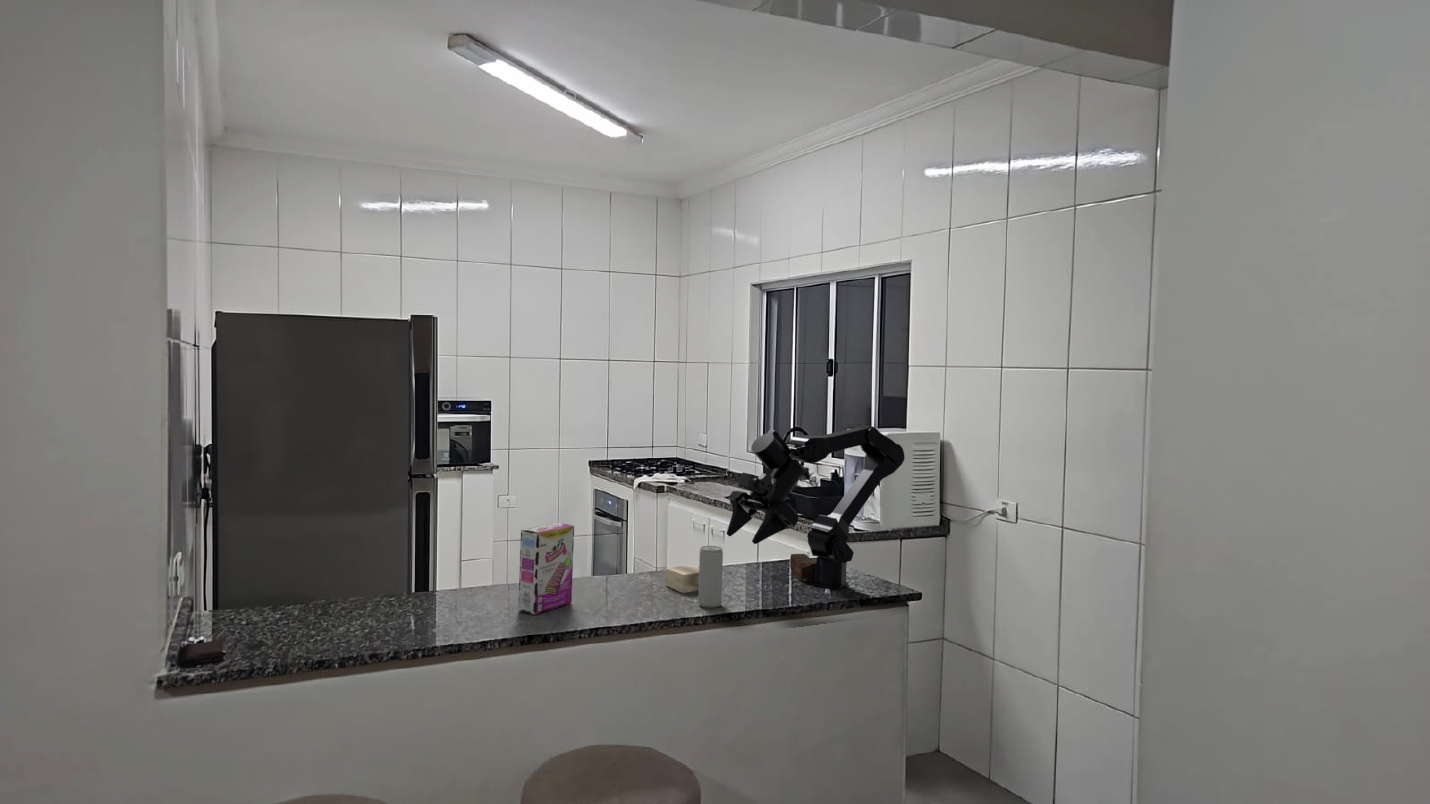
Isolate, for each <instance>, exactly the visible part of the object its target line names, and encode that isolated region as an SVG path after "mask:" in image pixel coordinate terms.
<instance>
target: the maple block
mask: <svg viewBox="0 0 1430 804" xmlns="http://www.w3.org/2000/svg"><path fill="white" fill-rule="evenodd" d="M667 586H669V587H671V588H670V589H672V588H673V589H672V590H674V589H675V590H674V591H676V592H680V593H682V594H685V593H691V592H692V591H693V592H699V566H696V565H693V564H688V565H681V566H675V567H673V566H672V567H667V568H665V587H667ZM669 587H668V588H669Z"/></svg>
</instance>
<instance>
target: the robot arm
mask: <svg viewBox="0 0 1430 804" xmlns="http://www.w3.org/2000/svg"><path fill="white" fill-rule="evenodd" d="M859 446H860V448H861V450H862V451H863V453H865V456H864V459H863V460H864V462H863V463H864V466H863V469H862V470H861V472H860V473H859V474H858V476H857V477H856V478H855V480H854V481H853V483H851V486H849V488H848V489H847V491H846V493H845V494H844V495H843V497H842V498H841V500H840V501H839V502H838V504H837V505H836V507H835V508H834V509H833V511H832V512H831V513H830V514H828V515H824V514H819V515H818V516H816V519H815V520H814V522H813V523H812V524H811V525H810V526H809V527H808V528H809V531H808V532H807V535H806V536H807V544H808V546H809V548H810V553H811V555H812V556H813V557H816V562H815V564H814V581H815V582H812V586H817V587H821V588H829V589H835V590H840V589H842V588H844V587H846V586H848V585H849V581H847V563H848V562H851V561H852V559H853V558H854V557H853V556H854V554H855V553H854V550H853V549H852V548H851V546H849V544H848V543H847V541H848V540H849V538H850V537H849V534H850V526H851V524H852V523H853V521H854V520H855V518H856V517H857V515H858V514H859V513H860V512H861V510H862V509H863V507H864V506H865V504H866V503H867V501H868V500H869V499H870V497H871V496H872V494H873V493H874V492H875V490H876V488H877V487H878V485H879V484H880V483H881V481H882V480H883V479H886V478H887V477H889V476H890V475H892V474H894V473H896V471H898V469H900V467H901V466H902V465H903V463H904V461H905V451H904V449H903V447H902V445H900V444H899V443H896V442H895V441H894V440H892V439H891V438H889V437H888V436H886V435H884V434H883V433H882V432H881V431H879V430H878V429H877V428H876V427H875V426H872V425H863V424H862V425H861V424H860V425H858V426H856V427H853V428H852V427H851V428H849V429H844V430H840V431H836V432H831V433H828V434H824V435H809V434H808V435H805V434H804V435H794V436H792V437H791V438H790V440H789V441H786V442H785V440H784V439H783V438H782V437H781V435H780V434H779V432H778V431H777V430H776V429H775V430H774V429H769V430H768V431H767V432H766V433H764V434H762V435H760V436H759V437H758V438H756V439H755V440H754V441H753V443H752V444H751V447H750V449H751V452H752V453H753V454H754V455H755V456H756V458H758V459H759V461H761V463H762V464H763V465H764V467H765V468H766V469H768V470H772V469H773V471H772V472H771V474H770V475H769V474H768V473H760V474H759V475H757V474H752V473H748V472H742V473H741V476H740V478H739V481H738V484H737V487H739V488H743V489H745V490H747V491H749V493H747V492H746V491H741V490H732V492H731V493H730V494H729V495H728V497H727V498H728V500H729V503H730V505H731V506H732V508H731V509H732V514H731V518H730V520H729V524H728V527H727V530H726V535H727V536H728V537H731V536H733V535H735V534H736V533H737V532H738V531H739V530H741V529H742V528H743V527H744V526H745V525H747V524H748V523H749V522H750V521H751V520H752V519H753V517H752V516H754V515H755V514H756V513H757V512H762V513H764V520H763V521H762V523H761V524H760V526H759V528H758V530H757V531H756V532H755V534H754V536H753V538H752V540H751V542H752V543H753V545H757V544H759V543H761V542H763V541H765V540H766V539H768V538H770V537H772V536H774V535H776V534H778V533H780V532H783V531H784V530H788V529H789V528H795V526H796V525H797V524H798V522H799V514H798V512H797V511H796V510H795V509H794V508H793V506H791V504H789V503H790V502H788V501H785V500H786V499H787V500H791V499H792V497H793V494H792V493H791V492H792V490H793V489H794V488H795V487H796V485H797V483H798V482H799V481H800V480H805V481H809V480H811V475H810V474H811V473H810V468H809V467H806V466H804V465H802V463H808V464H816V463H819V462H820V461H822V460H824V459H827V457H828V456H829V455H830V454H832V453H835V452H838V451H840V452H841V451H843V450H847V449H851V448H854V447H859Z"/></svg>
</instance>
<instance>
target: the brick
mask: <svg viewBox="0 0 1430 804" xmlns="http://www.w3.org/2000/svg"><path fill="white" fill-rule="evenodd" d="M789 559H790V563H789V567H790V571H791V572H790V573H791V574H792V575H793V576H794V577H795V578H796V580H798V581H800V582H801V583H807V582H809V583H814V582H816V581H814V564H815V563H816V562H815V561H814V560H813V559H812V558H811V557H810V556H808V555H807V554H806V553H791V554H790V557H789Z"/></svg>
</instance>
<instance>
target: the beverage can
mask: <svg viewBox="0 0 1430 804" xmlns="http://www.w3.org/2000/svg"><path fill="white" fill-rule="evenodd" d="M723 555H724V551H723V547H722V546H717V545H716V546H715V545H703V546H701V547H700V550H699V559H698V561H699V562H698V563H699V566H698V567H699V591H698V604H699V606H700V607H703V608H707V609H715V608H718V607H720V606H721V605H722V599H723V597H722V595H723V593H722V591H723V589H722V588H723V562H724V560H723V559H724V556H723Z"/></svg>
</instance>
